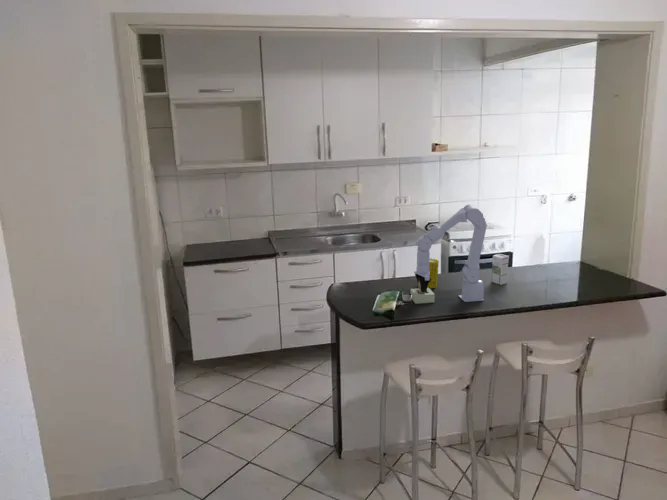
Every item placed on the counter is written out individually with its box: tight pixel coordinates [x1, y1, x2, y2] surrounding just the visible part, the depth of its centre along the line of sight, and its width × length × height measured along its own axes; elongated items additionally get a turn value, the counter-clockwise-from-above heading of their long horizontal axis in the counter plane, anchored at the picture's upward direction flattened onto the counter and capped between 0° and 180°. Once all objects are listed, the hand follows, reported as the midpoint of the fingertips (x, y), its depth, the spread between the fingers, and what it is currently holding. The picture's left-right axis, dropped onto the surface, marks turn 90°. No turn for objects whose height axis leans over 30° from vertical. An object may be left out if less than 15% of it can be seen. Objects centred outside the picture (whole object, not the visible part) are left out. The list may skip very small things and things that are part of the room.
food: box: [427, 257, 439, 290], centre depth 264 cm, size 15×12×10 cm
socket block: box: [409, 287, 436, 305], centre depth 248 cm, size 9×9×4 cm
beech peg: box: [418, 282, 426, 294], centre depth 247 cm, size 4×4×8 cm
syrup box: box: [490, 253, 510, 286], centre depth 267 cm, size 6×6×14 cm
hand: (422, 290), depth 247 cm, fingers closed on beech peg, 3 cm apart
